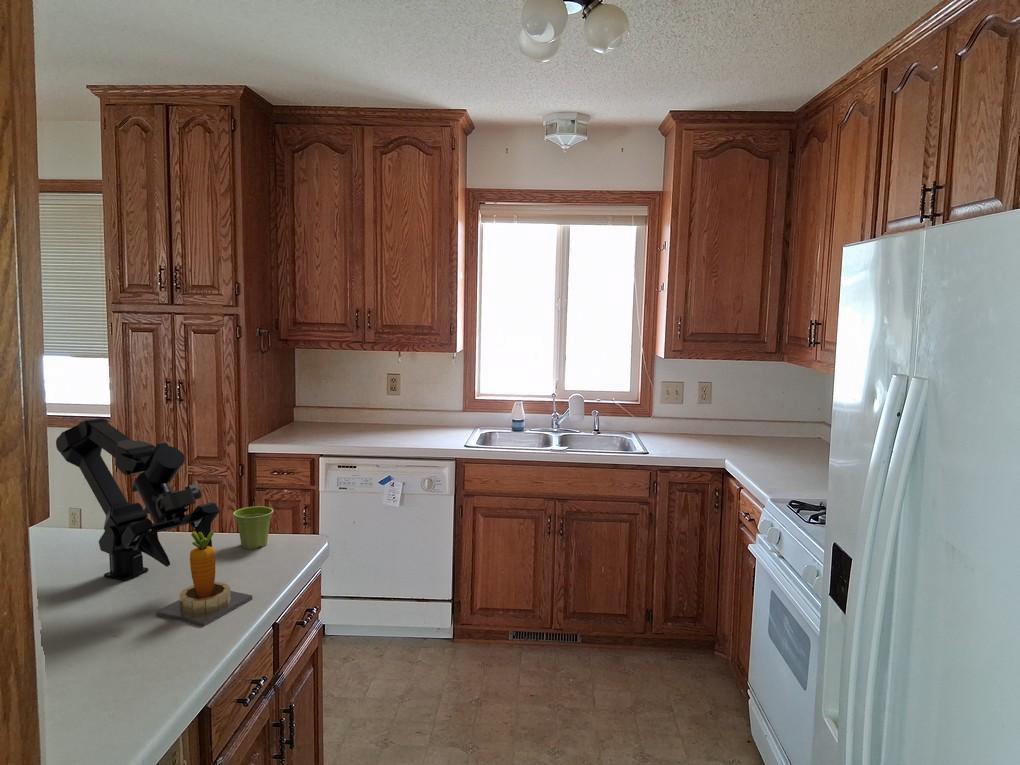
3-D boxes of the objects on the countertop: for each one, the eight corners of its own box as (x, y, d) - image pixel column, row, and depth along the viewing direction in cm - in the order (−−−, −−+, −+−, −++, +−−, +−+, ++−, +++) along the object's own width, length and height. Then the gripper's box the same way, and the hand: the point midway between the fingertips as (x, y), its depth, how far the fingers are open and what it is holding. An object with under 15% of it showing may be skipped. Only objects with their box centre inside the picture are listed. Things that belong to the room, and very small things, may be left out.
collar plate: (156, 614, 135) (155, 598, 135) (207, 589, 147) (206, 574, 147) (203, 626, 131) (203, 609, 131) (252, 599, 143) (251, 583, 143)
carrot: (222, 597, 142) (218, 526, 140) (212, 607, 137) (208, 534, 135) (198, 597, 142) (194, 526, 140) (187, 608, 137) (182, 534, 135)
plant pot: (241, 538, 179) (240, 506, 178) (278, 538, 180) (277, 505, 179) (229, 551, 170) (228, 517, 169) (268, 551, 170) (267, 517, 169)
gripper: (126, 483, 134) (160, 551, 129) (213, 465, 149) (247, 525, 145) (107, 515, 139) (139, 581, 134) (193, 494, 155) (225, 552, 150)
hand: (190, 558), depth 141 cm, fingers open, 9 cm apart
